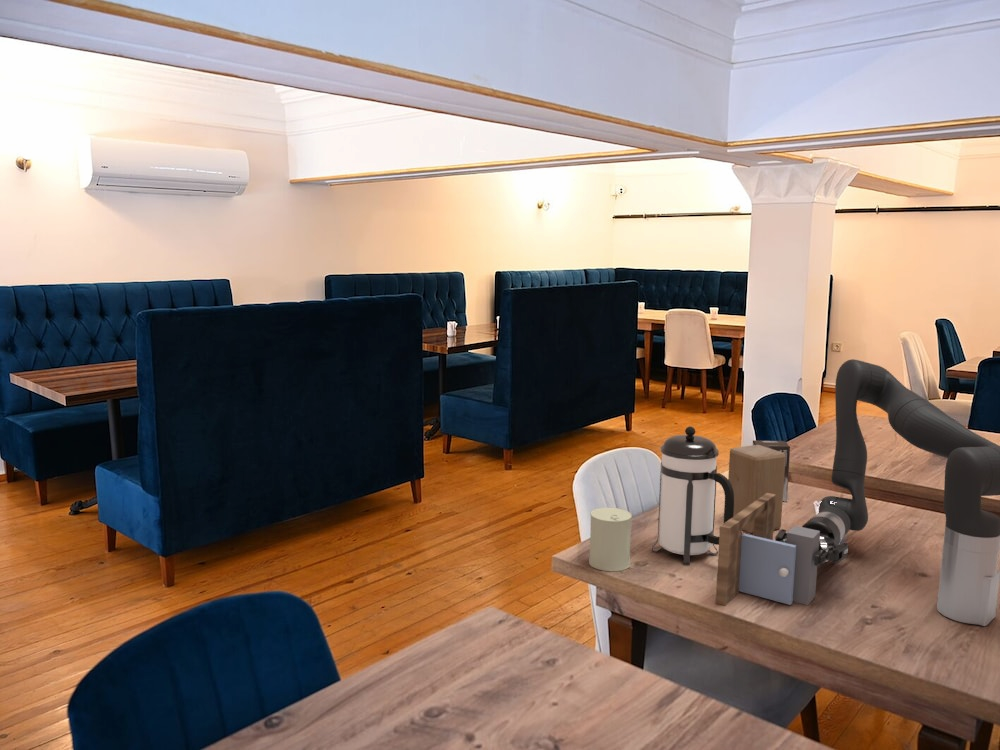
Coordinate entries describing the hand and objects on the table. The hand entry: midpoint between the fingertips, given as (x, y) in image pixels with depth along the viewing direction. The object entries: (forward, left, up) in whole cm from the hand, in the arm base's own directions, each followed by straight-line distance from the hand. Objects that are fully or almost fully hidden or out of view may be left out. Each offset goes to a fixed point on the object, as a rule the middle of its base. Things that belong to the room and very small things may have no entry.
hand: (798, 556), depth 157 cm
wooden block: (+28, -33, -10) cm, 45 cm away
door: (+6, +4, -9) cm, 11 cm away
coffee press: (+28, -5, -10) cm, 31 cm away
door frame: (+12, -1, -9) cm, 15 cm away
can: (+37, +13, -10) cm, 41 cm away
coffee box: (+37, -57, -10) cm, 69 cm away
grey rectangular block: (+1, -2, -9) cm, 10 cm away
